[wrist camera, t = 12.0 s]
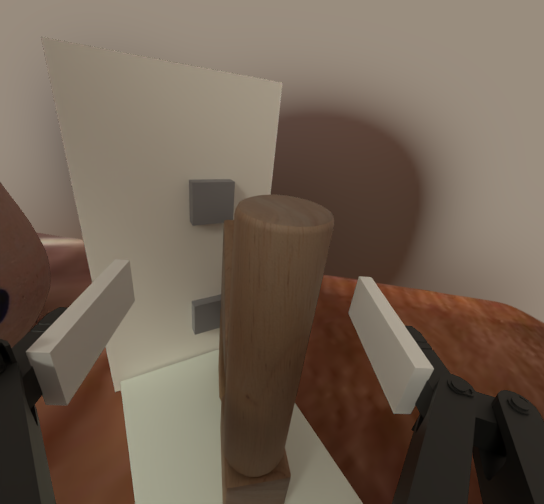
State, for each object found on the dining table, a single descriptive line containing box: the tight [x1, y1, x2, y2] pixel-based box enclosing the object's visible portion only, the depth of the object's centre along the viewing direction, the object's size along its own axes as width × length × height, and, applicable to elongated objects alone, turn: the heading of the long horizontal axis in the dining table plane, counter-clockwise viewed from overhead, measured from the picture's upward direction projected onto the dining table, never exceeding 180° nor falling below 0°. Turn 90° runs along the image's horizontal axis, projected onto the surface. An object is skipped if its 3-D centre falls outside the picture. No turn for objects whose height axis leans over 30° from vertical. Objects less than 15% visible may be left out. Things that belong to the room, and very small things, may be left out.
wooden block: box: [218, 195, 335, 504], centre depth 17 cm, size 4×11×18 cm, turn 11°
